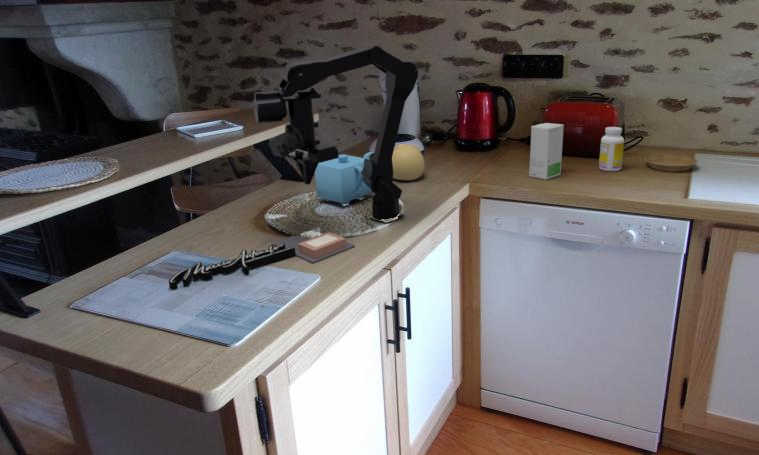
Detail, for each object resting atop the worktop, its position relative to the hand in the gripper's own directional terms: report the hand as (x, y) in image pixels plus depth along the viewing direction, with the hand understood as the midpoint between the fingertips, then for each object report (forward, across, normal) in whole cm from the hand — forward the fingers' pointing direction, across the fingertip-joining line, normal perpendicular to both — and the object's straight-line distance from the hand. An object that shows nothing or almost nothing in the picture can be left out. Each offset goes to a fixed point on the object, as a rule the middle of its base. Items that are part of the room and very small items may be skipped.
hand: (307, 184), depth 140 cm
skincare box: (+12, +19, +75) cm, 78 cm away
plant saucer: (+12, +44, +106) cm, 115 cm away
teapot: (+12, -12, +24) cm, 29 cm away
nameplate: (+12, +5, -25) cm, 28 cm away
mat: (+12, +8, -6) cm, 16 cm away
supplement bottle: (+12, +31, +93) cm, 99 cm away
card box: (+11, +9, -6) cm, 15 cm away
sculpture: (+12, -13, +47) cm, 50 cm away
